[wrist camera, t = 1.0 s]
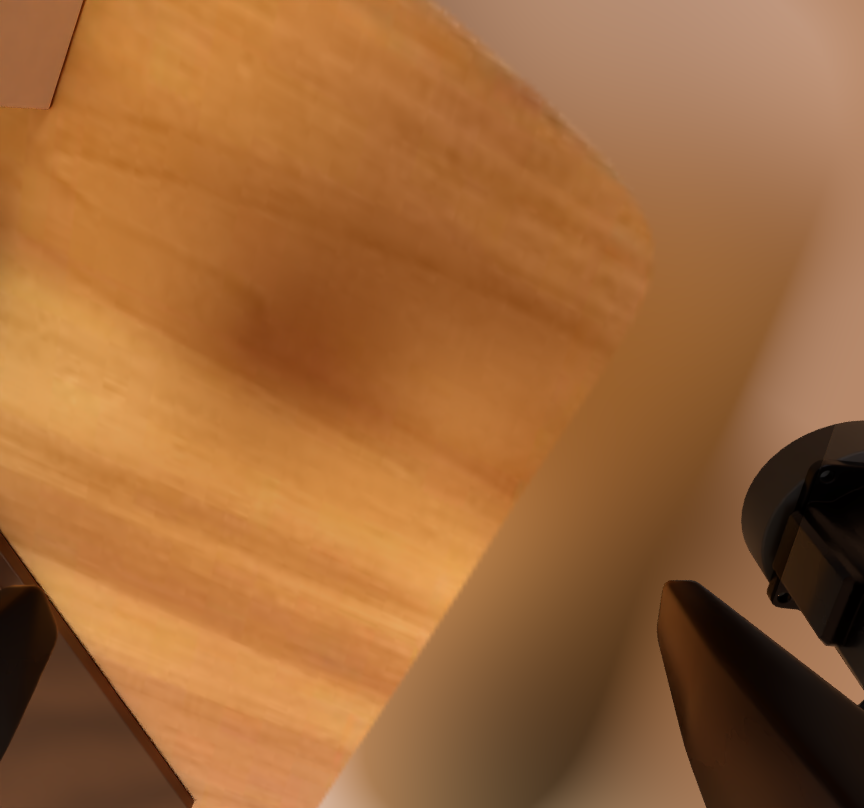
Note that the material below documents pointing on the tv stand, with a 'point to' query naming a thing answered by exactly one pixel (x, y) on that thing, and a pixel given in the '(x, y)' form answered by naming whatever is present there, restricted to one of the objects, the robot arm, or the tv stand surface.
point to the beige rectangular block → (33, 49)
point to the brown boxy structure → (79, 735)
